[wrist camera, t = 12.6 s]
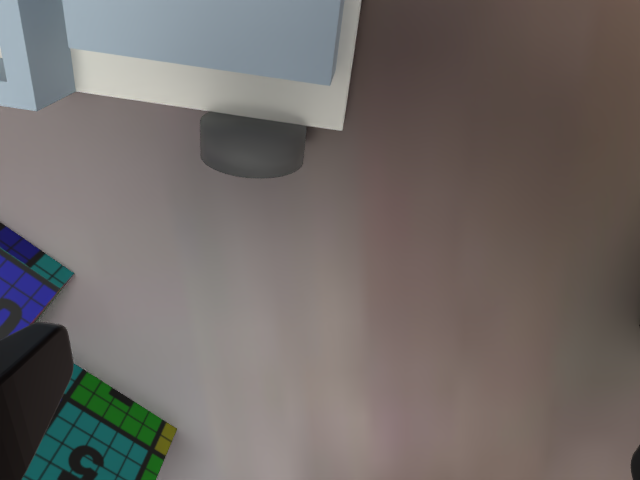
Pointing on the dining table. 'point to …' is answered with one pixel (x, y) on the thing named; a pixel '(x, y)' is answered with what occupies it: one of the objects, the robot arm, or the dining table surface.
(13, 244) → the block puzzle
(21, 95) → the chassis
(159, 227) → the dining table surface
